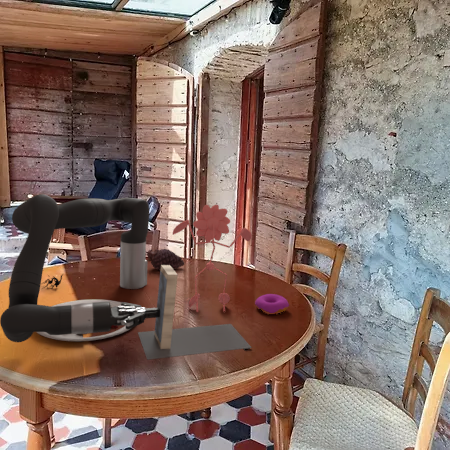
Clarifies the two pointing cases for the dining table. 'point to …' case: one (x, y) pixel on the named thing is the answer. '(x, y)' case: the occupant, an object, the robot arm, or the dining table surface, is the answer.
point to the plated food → (80, 336)
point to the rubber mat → (194, 341)
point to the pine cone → (164, 258)
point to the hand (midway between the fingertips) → (159, 312)
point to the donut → (272, 303)
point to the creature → (52, 281)
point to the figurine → (212, 229)
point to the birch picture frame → (166, 306)
